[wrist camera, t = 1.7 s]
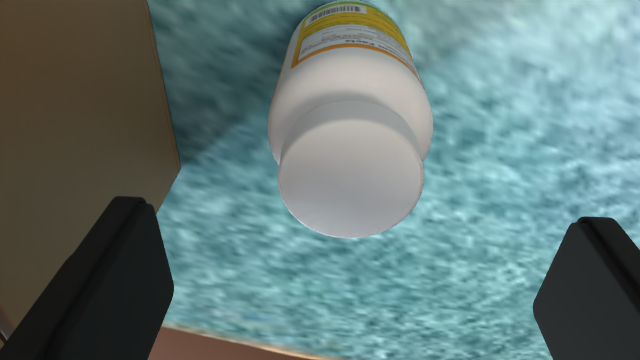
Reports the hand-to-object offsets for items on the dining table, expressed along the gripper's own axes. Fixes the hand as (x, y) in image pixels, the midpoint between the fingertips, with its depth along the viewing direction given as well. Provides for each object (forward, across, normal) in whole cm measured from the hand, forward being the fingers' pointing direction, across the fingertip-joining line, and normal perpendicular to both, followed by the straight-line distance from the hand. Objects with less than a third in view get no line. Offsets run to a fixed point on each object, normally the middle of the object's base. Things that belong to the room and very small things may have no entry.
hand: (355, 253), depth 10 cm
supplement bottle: (+12, 0, 0) cm, 12 cm away
